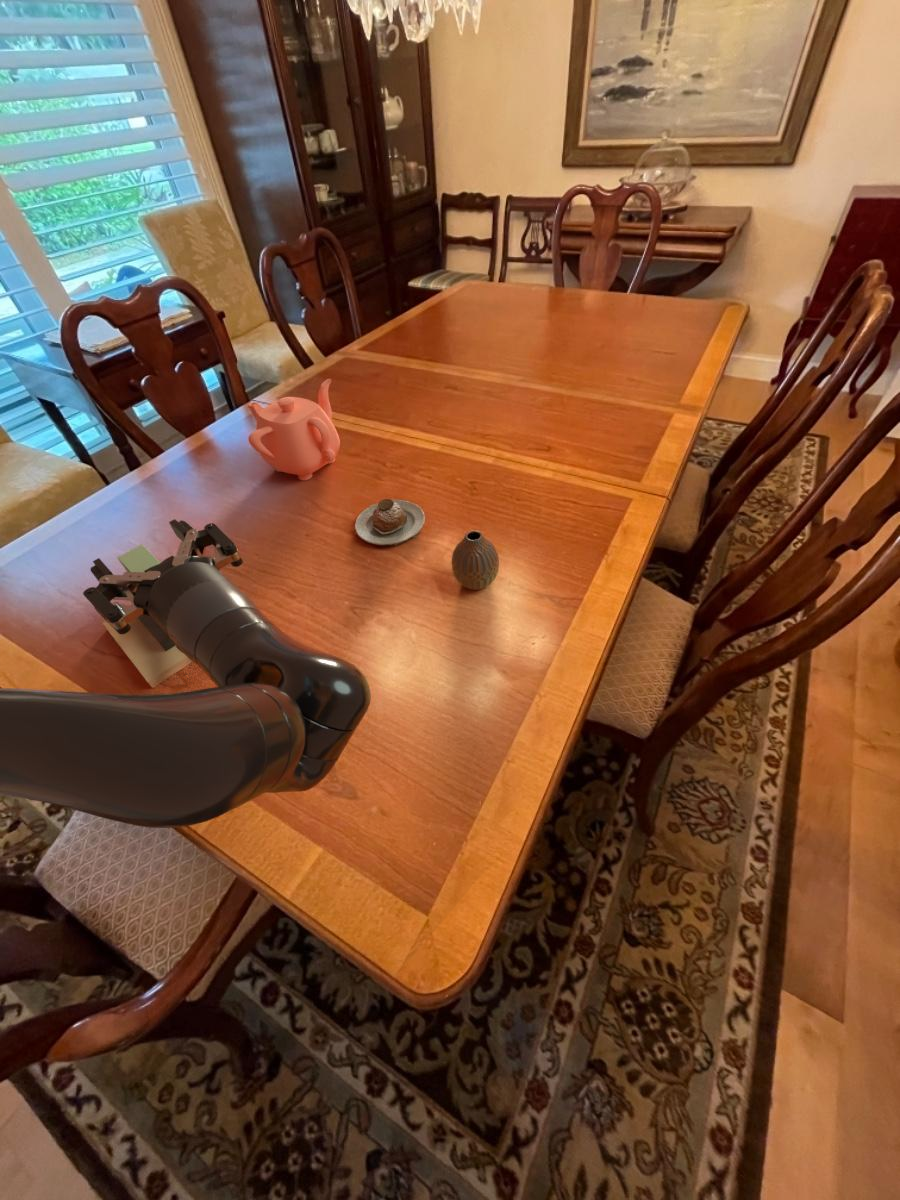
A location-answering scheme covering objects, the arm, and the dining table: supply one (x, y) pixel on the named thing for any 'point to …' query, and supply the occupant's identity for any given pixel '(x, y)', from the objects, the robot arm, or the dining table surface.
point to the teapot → (296, 434)
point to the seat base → (150, 649)
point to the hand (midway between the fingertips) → (138, 545)
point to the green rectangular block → (138, 559)
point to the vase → (475, 561)
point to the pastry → (390, 522)
